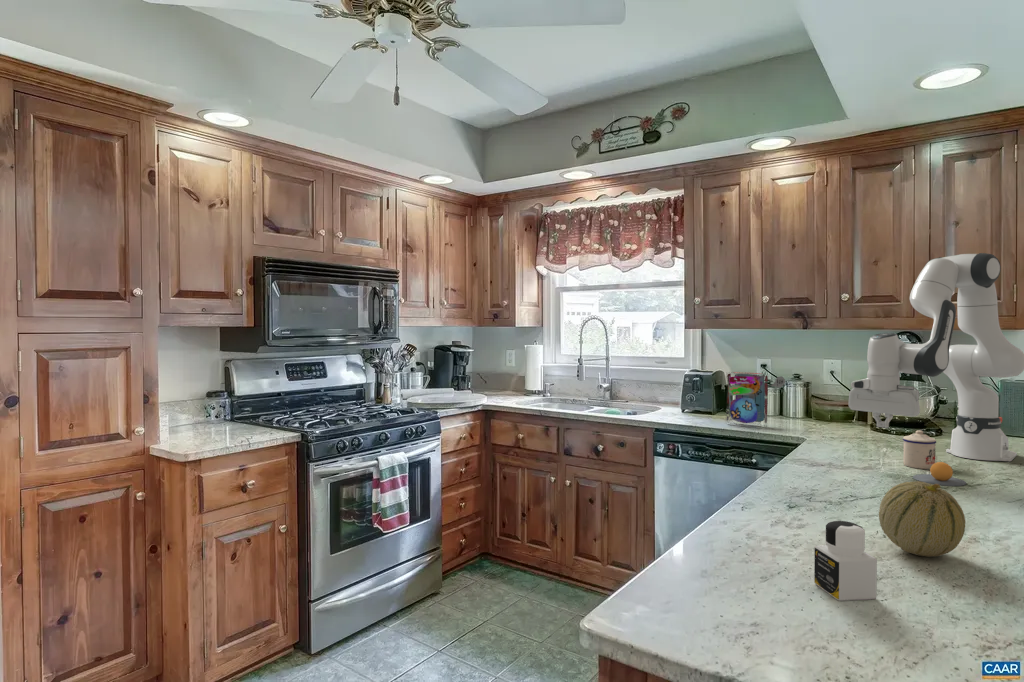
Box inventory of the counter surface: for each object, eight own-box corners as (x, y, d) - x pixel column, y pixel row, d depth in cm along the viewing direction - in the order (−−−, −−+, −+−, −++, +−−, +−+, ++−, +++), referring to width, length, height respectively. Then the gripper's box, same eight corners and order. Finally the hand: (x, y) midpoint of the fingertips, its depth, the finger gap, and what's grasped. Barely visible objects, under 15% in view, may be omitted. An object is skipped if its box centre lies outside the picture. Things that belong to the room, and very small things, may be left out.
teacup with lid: (932, 470, 190) (932, 434, 190) (899, 466, 197) (899, 430, 197) (941, 464, 199) (941, 429, 198) (908, 460, 205) (909, 426, 205)
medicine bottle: (813, 583, 109) (813, 518, 109) (850, 581, 110) (851, 516, 110) (837, 601, 102) (838, 531, 102) (877, 599, 103) (878, 530, 103)
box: (786, 428, 267) (787, 374, 266) (782, 430, 262) (782, 375, 262) (730, 423, 283) (730, 371, 282) (725, 425, 278) (725, 372, 278)
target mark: (925, 472, 188) (925, 472, 188) (974, 481, 177) (974, 481, 177) (904, 478, 181) (904, 478, 181) (954, 488, 170) (954, 487, 170)
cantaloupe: (883, 535, 133) (884, 468, 133) (966, 551, 124) (967, 479, 124) (872, 556, 122) (873, 482, 122) (962, 574, 113) (963, 495, 112)
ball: (931, 473, 183) (937, 457, 182) (952, 482, 179) (958, 465, 178) (924, 477, 180) (930, 460, 178) (945, 486, 176) (951, 469, 174)
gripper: (924, 386, 185) (923, 431, 185) (856, 381, 202) (855, 422, 202) (914, 387, 181) (913, 433, 182) (846, 382, 199) (845, 423, 199)
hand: (882, 427), depth 192 cm, fingers closed
